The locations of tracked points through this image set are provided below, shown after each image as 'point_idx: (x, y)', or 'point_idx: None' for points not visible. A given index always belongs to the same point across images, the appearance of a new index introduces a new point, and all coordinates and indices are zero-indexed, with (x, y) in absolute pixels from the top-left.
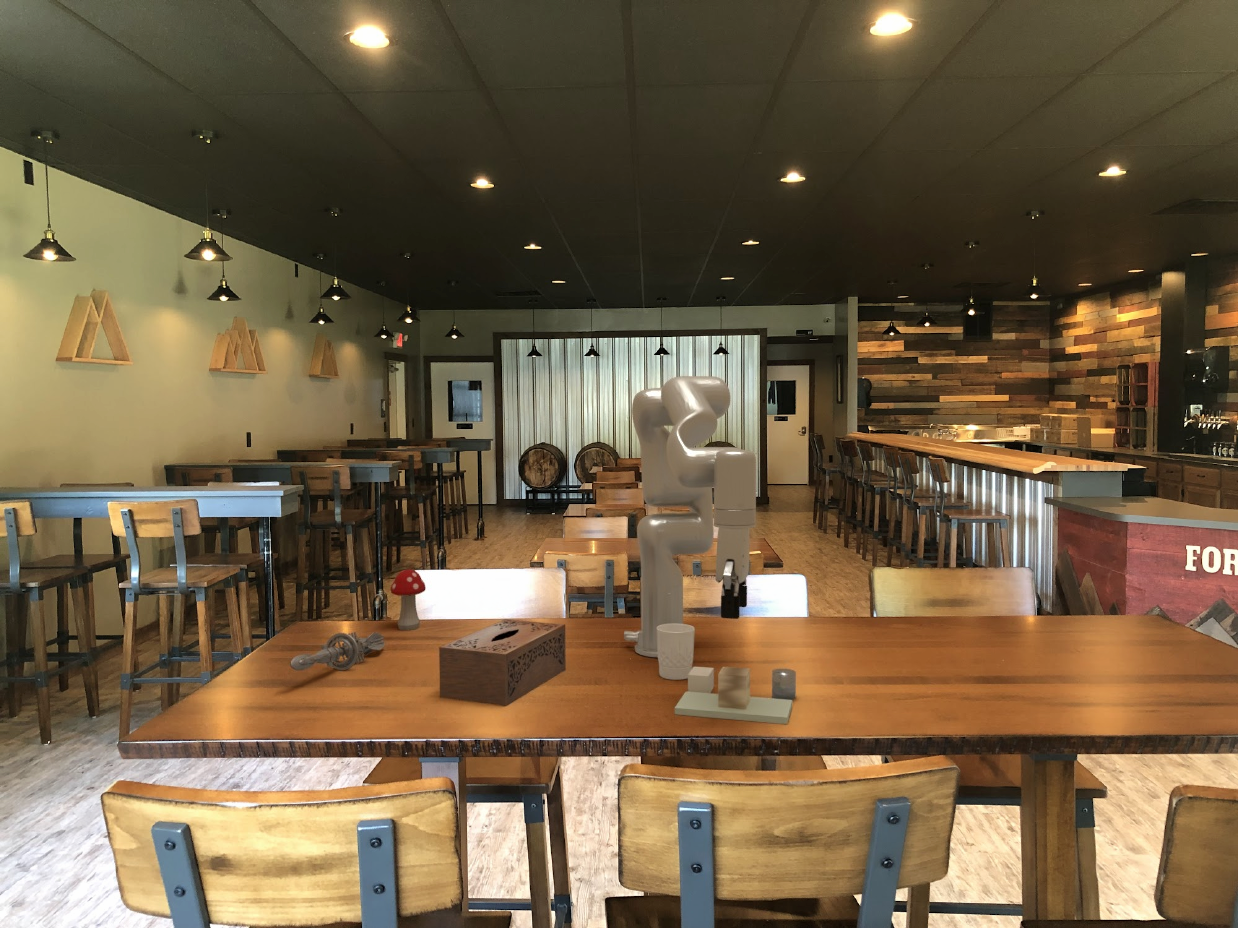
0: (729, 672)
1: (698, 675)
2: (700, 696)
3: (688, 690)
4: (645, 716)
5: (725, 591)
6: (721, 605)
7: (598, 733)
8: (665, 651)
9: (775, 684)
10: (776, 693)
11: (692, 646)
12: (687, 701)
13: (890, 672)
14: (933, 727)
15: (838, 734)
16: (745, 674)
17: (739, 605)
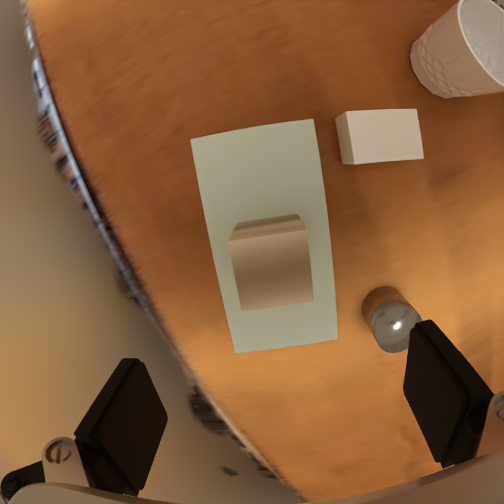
0: (255, 264)
1: (351, 138)
2: (291, 161)
3: (336, 118)
4: (159, 96)
5: (35, 470)
6: (99, 396)
7: (62, 82)
8: (433, 32)
9: (375, 310)
10: (368, 304)
11: (479, 91)
12: (242, 147)
13: (501, 386)
14: (302, 468)
15: (227, 407)
16: (254, 306)
17: (408, 369)
